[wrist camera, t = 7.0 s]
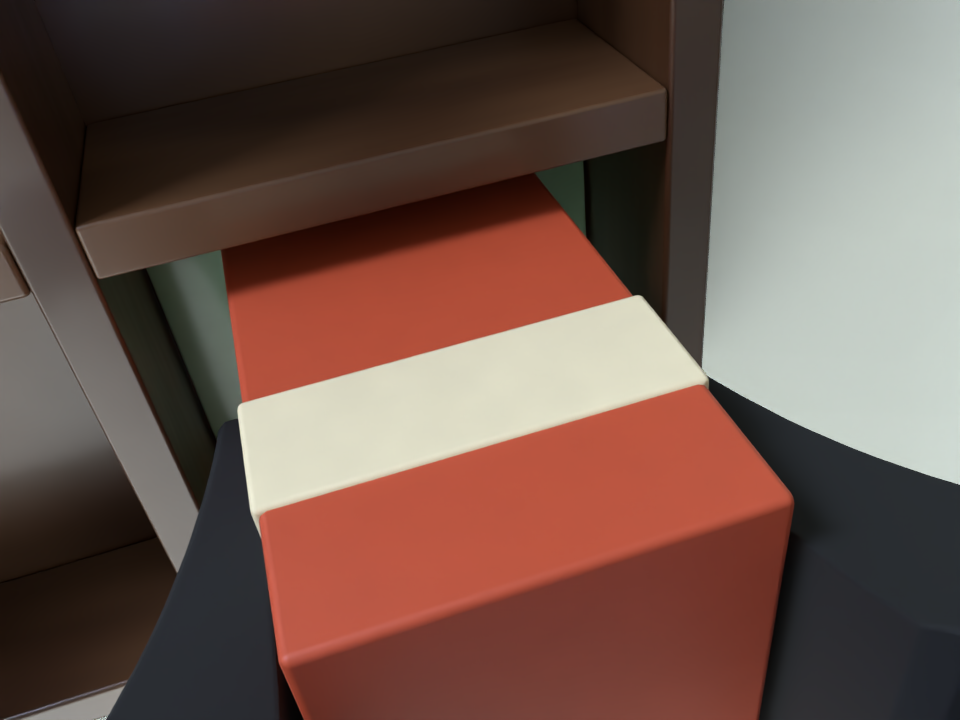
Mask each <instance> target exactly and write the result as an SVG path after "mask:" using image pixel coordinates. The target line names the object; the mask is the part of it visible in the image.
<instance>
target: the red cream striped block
mask: <svg viewBox="0 0 960 720" xmlns="http://www.w3.org/2000/svg"><path fill="white" fill-rule="evenodd" d="M221 255H222V262H223V269H224V276H225V283H226V290H227V298H228V305H229V312H230V319H231V326H232V333H233V340H234V348H235V355H236V362H237V369H238V376H239V383H240V390H241V397H242V403H241V404H240V405H239V406H238V410H237V413H238V421H239V429H240V436H241V444H242V451H243V459H244V467H245V474H246V482H247V489H248V497H249V505H250V512H251V515H252V517H253V520H254V522H255V525H256V527H257V530H258V532H259V535H260V537H261V540H262V547H263V554H264V562H265V569H266V576H267V583H268V590H269V597H270V604H271V612H272V619H273V626H274V633H275V640H276V647H277V654H278V662H279V665H280V667H281V669H282V671H283V674H284V676H285V678H286V680H287V683H288V685H289V687H290V689H291V692H292V694H293V696H294V698H295V701H296V703H297V705H298V707H299V710H300V712H301V714H302V716H303V719H304V720H759V715H760V709H761V703H762V697H763V691H764V685H765V679H766V673H767V667H768V661H769V655H770V649H771V643H772V637H773V631H774V625H775V619H776V613H777V607H778V600H779V594H780V588H781V582H782V576H783V570H784V564H785V558H786V552H787V546H788V540H789V534H790V528H791V522H792V516H793V510H794V499H793V496H792V494H791V492H790V491H789V490H788V488H787V487H786V486H785V485H784V483H783V482H782V481H781V480H780V478H779V477H778V476H777V475H776V473H775V472H774V471H773V470H772V469H771V467H770V466H769V465H768V464H767V462H766V461H765V460H764V459H763V457H762V456H761V455H760V454H759V452H758V451H757V450H756V449H755V447H754V446H753V445H752V444H751V442H750V441H749V440H748V439H747V437H746V436H745V435H744V434H743V432H742V431H741V430H740V429H739V427H738V426H737V425H736V424H735V422H734V421H733V420H732V419H731V417H730V416H729V415H728V414H727V412H726V411H725V410H724V409H723V407H722V406H721V405H720V404H719V402H718V401H717V400H716V399H715V397H714V396H713V395H712V394H711V392H710V391H709V390H708V389H709V379H708V377H707V375H706V373H705V372H704V371H703V370H702V369H701V367H700V366H699V365H698V364H697V362H696V361H695V360H694V359H693V358H692V356H691V355H690V354H689V353H688V351H687V350H686V349H685V348H684V347H683V345H682V344H681V343H680V342H679V340H678V339H677V338H676V337H675V335H674V334H673V333H672V332H671V331H670V329H669V328H668V327H667V326H666V324H665V323H664V322H663V321H662V320H661V318H660V317H659V316H658V315H657V313H656V312H655V311H654V310H653V309H652V307H651V306H650V305H649V304H648V302H647V301H646V300H645V299H644V298H643V296H640V295H635V296H633V295H632V294H631V293H630V291H629V290H628V289H627V288H626V286H625V285H624V284H623V283H622V281H621V280H620V279H619V278H618V276H617V275H616V274H615V273H614V271H613V270H612V269H611V268H610V266H609V265H608V264H607V263H606V261H605V260H604V259H603V258H602V256H601V255H600V254H599V253H598V251H597V250H596V249H595V248H594V246H593V245H592V244H591V243H590V241H589V240H588V239H587V238H586V236H585V235H584V234H583V233H582V231H581V230H580V229H579V228H578V226H577V225H576V224H575V223H574V221H573V220H572V219H571V218H570V216H569V215H568V214H567V213H566V212H565V210H564V209H563V208H562V207H561V205H560V204H559V203H558V202H557V200H556V199H555V198H554V197H553V195H552V194H551V193H550V192H549V190H548V189H547V188H546V187H545V185H544V184H543V183H542V182H541V180H540V179H539V178H538V177H537V175H536V174H535V173H532V174H527V175H523V176H519V177H515V178H511V179H507V180H503V181H499V182H495V183H491V184H487V185H483V186H479V187H475V188H470V189H466V190H462V191H458V192H454V193H450V194H446V195H442V196H438V197H434V198H430V199H426V200H422V201H418V202H413V203H409V204H405V205H401V206H397V207H393V208H389V209H385V210H381V211H377V212H373V213H369V214H365V215H360V216H356V217H352V218H348V219H344V220H340V221H336V222H332V223H328V224H324V225H320V226H316V227H312V228H308V229H303V230H299V231H295V232H291V233H287V234H283V235H279V236H275V237H271V238H267V239H263V240H259V241H255V242H251V243H246V244H242V245H238V246H234V247H230V248H226V249H222V250H221Z"/></svg>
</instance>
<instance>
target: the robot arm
mask: <svg viewBox="0 0 960 720" xmlns="http://www.w3.org/2000/svg"><path fill="white" fill-rule="evenodd" d="M707 377H708V376H707ZM708 379H709V389H708V390H709V391H710V392H711V394H712V395H713V396H714V397H715V399H716V400H717V401H718V402H719V404H720V405H721V406H722V407H723V409H724V410H725V411H726V412H727V414H728V415H729V416H730V417H731V419H732V420H733V421H734V422H735V424H736V425H737V426H738V427H739V429H740V430H741V431H742V432H743V434H744V435H745V436H746V437H747V439H748V440H749V441H750V442H751V444H752V445H753V446H754V447H755V449H756V450H757V451H758V452H759V454H760V455H761V456H762V457H763V459H764V460H765V461H766V462H767V464H768V465H769V466H770V467H771V469H772V470H773V471H774V472H775V473H776V475H777V476H778V477H779V478H780V480H781V481H782V482H783V483H784V485H785V486H786V487H787V488H788V490H789V491H790V492H791V494H792V496H793V499H794V510H793V516H792V522H791V528H790V534H789V540H788V546H787V552H786V558H785V564H784V570H783V576H782V582H781V588H780V594H779V600H778V607H777V613H776V619H775V625H774V631H773V637H772V643H771V649H770V655H769V661H768V667H767V673H766V679H765V685H764V691H763V697H762V703H761V709H760V715H759V720H960V485H958V484H955V483H952V482H948V481H945V480H942V479H938V478H935V477H932V476H928V475H925V474H922V473H919V472H917V471H914V470H911V469H908V468H905V467H902V466H899V465H896V464H893V463H891V462H888V461H885V460H882V459H879V458H876V457H874V456H871V455H868V454H866V453H863V452H861V451H858V450H855V449H853V448H850V447H848V446H846V445H843V444H841V443H839V442H836V441H834V440H832V439H829V438H827V437H825V436H822V435H820V434H818V433H815V432H813V431H811V430H808V429H806V428H804V427H802V426H800V425H798V424H796V423H793V422H791V421H789V420H787V419H785V418H783V417H781V416H779V415H777V414H775V413H773V412H771V411H770V410H768V409H766V408H764V407H762V406H760V405H758V404H756V403H754V402H752V401H750V400H748V399H746V398H745V397H743V396H741V395H739V394H738V393H736V392H734V391H732V390H730V389H729V388H727V387H725V386H723V385H722V384H720V383H718V382H716V381H715V380H713V379H711V378H710V377H708ZM106 720H304V719H303V716H302V714H301V712H300V710H299V707H298V705H297V703H296V701H295V698H294V696H293V694H292V692H291V689H290V687H289V685H288V683H287V680H286V678H285V676H284V674H283V671H282V669H281V667H280V665H279V662H278V654H277V647H276V640H275V633H274V626H273V619H272V612H271V604H270V597H269V590H268V583H267V576H266V569H265V562H264V554H263V547H262V540H261V537H260V535H259V532H258V530H257V527H256V525H255V522H254V520H253V517H252V515H251V512H250V505H249V497H248V489H247V482H246V474H245V467H244V459H243V451H242V444H241V436H240V429H239V421H238V419H234V420H230V421H227V422H224V423H223V425H222V426H221V428H220V429H219V431H218V437H217V443H216V448H215V453H214V458H213V462H212V467H211V471H210V475H209V479H208V482H207V486H206V490H205V494H204V497H203V501H202V504H201V507H200V510H199V513H198V516H197V519H196V523H195V526H194V529H193V532H192V535H191V538H190V541H189V544H188V547H187V550H186V553H185V555H184V558H183V560H182V563H181V565H180V568H179V571H178V573H177V576H176V578H175V581H174V583H173V586H172V588H171V591H170V593H169V596H168V598H167V601H166V603H165V606H164V608H163V610H162V612H161V615H160V617H159V619H158V621H157V624H156V626H155V628H154V630H153V632H152V634H151V636H150V638H149V641H148V643H147V645H146V647H145V649H144V651H143V653H142V655H141V657H140V659H139V661H138V663H137V665H136V667H135V668H134V670H133V672H132V674H131V676H130V678H129V680H128V681H127V683H126V685H125V687H124V689H123V690H122V692H121V694H120V696H119V697H118V699H117V701H116V703H115V705H114V706H113V708H112V710H111V712H110V714H109V715H108V717H107V719H106Z"/></svg>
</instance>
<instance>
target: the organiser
mask: <svg viewBox="0 0 960 720" xmlns="http://www.w3.org/2000/svg"><path fill="white" fill-rule="evenodd" d="M723 8H724V0H0V720H96V719H99V718H102V717H105V716H108V715H109V714H110V712H111V710H112V708H113V706H114V705H115V703H116V701H117V699H118V697H119V696H120V694H121V692H122V690H123V689H124V687H125V685H126V683H127V681H128V680H129V678H130V676H131V674H132V672H133V670H134V668H135V667H136V665H137V663H138V661H139V659H140V657H141V655H142V653H143V651H144V649H145V647H146V645H147V643H148V641H149V638H150V636H151V634H152V632H153V630H154V628H155V626H156V624H157V621H158V619H159V617H160V615H161V612H162V610H163V608H164V606H165V603H166V601H167V598H168V596H169V593H170V591H171V588H172V586H173V583H174V581H175V578H176V576H177V573H178V571H179V568H180V565H181V563H182V560H183V558H184V555H185V553H186V550H187V547H188V544H189V541H190V538H191V535H192V532H193V529H194V526H195V523H196V519H197V516H198V513H199V510H200V507H201V504H202V501H203V497H204V494H205V490H206V486H207V482H208V479H209V475H210V471H211V467H212V462H213V458H214V453H215V448H216V443H217V437H218V431H219V429H220V428H221V426H222V425H223V423H224V422H227V421H230V420H234V419H238V413H237V410H238V406H239V405H240V404H241V403H242V397H241V390H240V383H239V376H238V369H237V362H236V355H235V348H234V340H233V333H232V326H231V319H230V312H229V305H228V298H227V290H226V283H225V276H224V269H223V262H222V255H221V250H222V249H226V248H230V247H234V246H238V245H242V244H246V243H251V242H255V241H259V240H263V239H267V238H271V237H275V236H279V235H283V234H287V233H291V232H295V231H299V230H303V229H308V228H312V227H316V226H320V225H324V224H328V223H332V222H336V221H340V220H344V219H348V218H352V217H356V216H360V215H365V214H369V213H373V212H377V211H381V210H385V209H389V208H393V207H397V206H401V205H405V204H409V203H413V202H418V201H422V200H426V199H430V198H434V197H438V196H442V195H446V194H450V193H454V192H458V191H462V190H466V189H470V188H475V187H479V186H483V185H487V184H491V183H495V182H499V181H503V180H507V179H511V178H515V177H519V176H523V175H527V174H532V173H535V174H536V175H537V177H538V178H539V179H540V180H541V182H542V183H543V184H544V185H545V187H546V188H547V189H548V190H549V192H550V193H551V194H552V195H553V197H554V198H555V199H556V200H557V202H558V203H559V204H560V205H561V207H562V208H563V209H564V210H565V212H566V213H567V214H568V215H569V216H570V218H571V219H572V220H573V221H574V223H575V224H576V225H577V226H578V228H579V229H580V230H581V231H582V233H583V234H584V235H585V236H586V238H587V239H588V240H589V241H590V243H591V244H592V245H593V246H594V248H595V249H596V250H597V251H598V253H599V254H600V255H601V256H602V258H603V259H604V260H605V261H606V263H607V264H608V265H609V266H610V268H611V269H612V270H613V271H614V273H615V274H616V275H617V276H618V278H619V279H620V280H621V281H622V283H623V284H624V285H625V286H626V288H627V289H628V290H629V291H630V293H631V294H632V295H633V296H635V295H640V296H643V298H644V299H645V300H646V301H647V302H648V304H649V305H650V306H651V307H652V309H653V310H654V311H655V312H656V313H657V315H658V316H659V317H660V318H661V320H662V321H663V322H664V323H665V324H666V326H667V327H668V328H669V329H670V331H671V332H672V333H673V334H674V335H675V337H676V338H677V339H678V340H679V342H680V343H681V344H682V345H683V347H684V348H685V349H686V350H687V351H688V353H689V354H690V355H691V356H692V358H693V359H694V360H695V361H696V362H697V364H698V365H699V366H700V367H701V369H702V354H703V338H704V321H705V305H706V288H707V272H708V255H709V239H710V222H711V206H712V189H713V173H714V156H715V140H716V123H717V107H718V90H719V74H720V57H721V41H722V24H723Z"/></svg>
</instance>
